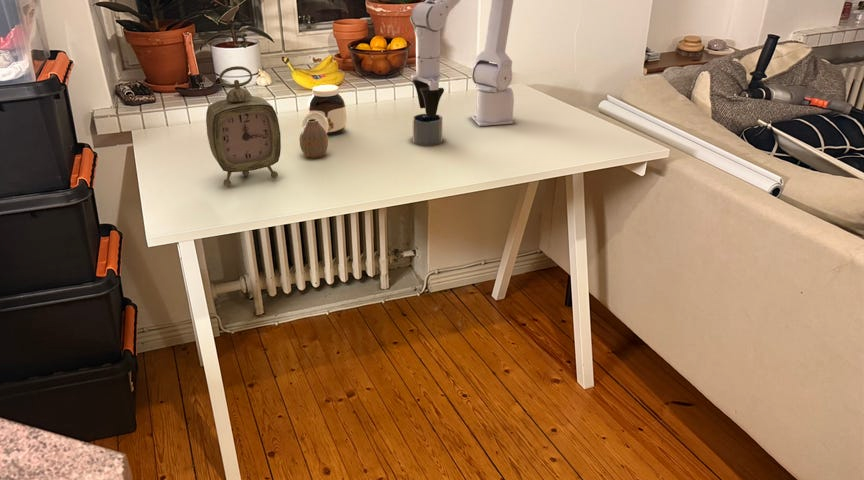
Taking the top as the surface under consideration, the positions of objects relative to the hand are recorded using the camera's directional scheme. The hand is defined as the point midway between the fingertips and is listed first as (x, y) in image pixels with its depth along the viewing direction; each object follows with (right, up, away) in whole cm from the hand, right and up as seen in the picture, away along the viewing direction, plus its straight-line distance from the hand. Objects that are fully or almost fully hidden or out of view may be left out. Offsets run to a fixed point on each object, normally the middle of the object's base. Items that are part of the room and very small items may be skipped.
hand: (427, 112), depth 174 cm
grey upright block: (0, -6, +3) cm, 7 cm away
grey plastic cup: (0, -7, +4) cm, 8 cm away
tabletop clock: (-42, -19, -16) cm, 48 cm away
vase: (-28, -12, -4) cm, 30 cm away
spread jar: (-26, -4, +11) cm, 29 cm away
